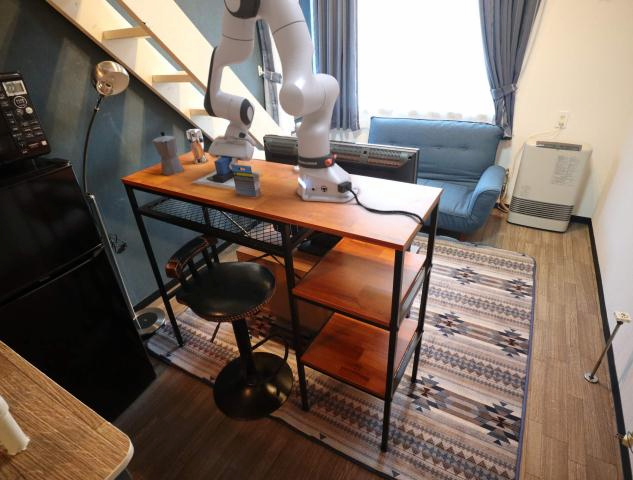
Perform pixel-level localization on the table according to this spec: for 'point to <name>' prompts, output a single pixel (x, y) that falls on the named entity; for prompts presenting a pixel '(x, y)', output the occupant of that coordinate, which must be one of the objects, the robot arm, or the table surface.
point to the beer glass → (196, 145)
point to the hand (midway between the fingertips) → (224, 168)
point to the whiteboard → (226, 184)
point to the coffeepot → (168, 154)
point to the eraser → (223, 170)
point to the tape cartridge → (246, 181)
